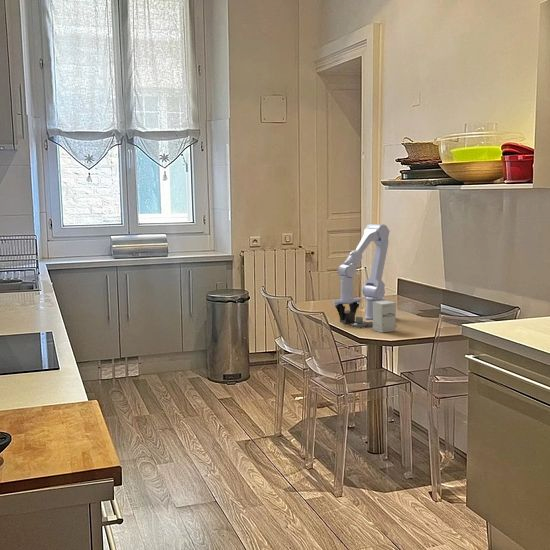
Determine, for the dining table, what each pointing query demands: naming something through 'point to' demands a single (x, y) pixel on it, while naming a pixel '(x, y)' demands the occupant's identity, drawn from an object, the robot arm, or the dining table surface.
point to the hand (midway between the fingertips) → (347, 319)
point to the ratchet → (361, 323)
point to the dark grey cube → (348, 317)
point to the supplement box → (384, 316)
